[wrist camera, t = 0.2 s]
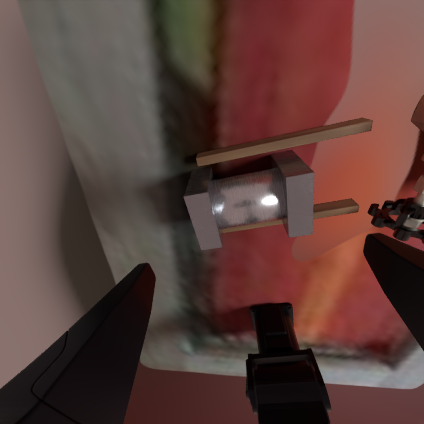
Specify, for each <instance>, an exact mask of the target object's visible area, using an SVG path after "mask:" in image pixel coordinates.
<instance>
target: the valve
mask: <svg viewBox="0 0 424 424" xmlns="http://www.w3.org/2000/svg"><path fill="white" fill-rule="evenodd" d="M411 122H412V123H413V124H414V125H416V126H417V127H418V128H420V129H421V130H422V131H423V132H424V95H423V96H422V98H421V99H420V101H419V102H418V104H417V106H416V108H415V110H414V113H413V115H412V119H411ZM421 160H422V161H424V154H423V155H422V157H421ZM413 189H414V190H415V191H416V192H418V193H417V195H416V197H415V198H407V199H398V200H397V201H395V202H394V201H390V200H387V201H385V202H384V204H383V206H382V210H381V209H378V207H379V204H371V206H370V208H369V210H368V214H369V215H371V216H374V217H373V219H372V221H371V224H372V225H374V226H376V227H379V228H383V227H384V226H385V227H389V228H391V229H392V230H394V233H393V236H394V237H395V238H396V239H398V240H401V241H407V240H408V239H409V238H410V237H415V238H419V239H421V240H422V243H423V244H424V230H419V229H414V228H417V227H419V226H420V225H421V223H423V224H424V175H421V176H420V178H419V179H418V181H417V183H416V185H415V186H414V188H413ZM402 205H403V206H402ZM401 207H402V208H401ZM389 215H399V216H398V218H397V219H396V221H394V220H393V219H391V218H390V216H389Z"/></svg>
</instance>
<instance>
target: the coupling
mask: <svg viewBox="0 0 424 424" xmlns="http://www.w3.org/2000/svg"><path fill="white" fill-rule="evenodd" d="M271 161H272V169H268V170H263V171H258V172H253V173H248V174H243V175H237V176H232V177H227V178H222V179H217V180H214V177H213V172H212V168H211V167H207V168H202V169H197V170H192V173H191V176H190V179H189V182H188V185H187V188H186V191H185V194H184V200H185V203H186V206H187V208H188V211H189V214H190V217H191V220H192V223H193V226H194V229H195V232H196V235H197V238H198V241H199V244H200V247H201V250H206V249H213V248H220V247H222V229H226V228H232V227H238V226H245V225H251V224H257V223H264V222H270V221H277V220H282V222H283V225H284V227H285V230H286V232H287V234H288V237H296V236H303V235H310V234H312V233H313V200H314V172H313V171H312V170H311V169H310V168H309V167H308V166H307V165H306V164H305V163H304V162H303V161H302V160H301V159H300V157H299V156H298V155H297V154H296V153H295V152H294V151H293V150H290V151H285V152H280V153H275V154H271Z"/></svg>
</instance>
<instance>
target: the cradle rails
mask: <svg viewBox="0 0 424 424" xmlns="http://www.w3.org/2000/svg"><path fill="white" fill-rule="evenodd" d="M372 122H373V121H372V120H369V119H365V118H359V119H354V120H350V121H346V122H341V123H336V124H332V125H327V126H322V127H318V128H313V129H308V130H304V131H299V132H295V133H290V134H285V135H281V136H276V137H272V138H267V139H262V140H258V141H253V142H249V143H244V144H239V145H235V146H230V147H226V148H221V149H216V150H212V151H207V152H203V153H198V154H197V157H196V160H197V164H198V166H203V165H208V164H213V163H218V162H222V161H227V160H232V159H237V158H242V157H246V156H251V155H256V154H261V153H266V152H271V151H275V150H280V149H285V148H290V147H295V146H299V145H304V144H309V143H314V142H319V141H323V140H328V139H333V138H338V137H343V136H347V135H352V134H357V133H362V132H366V131H371V128H372ZM358 209H359V205H358V204H357V203H356V202H355V201H354V200H353V199H345V200H339V201H333V202H327V203H321V204H316V205H313V219H317V218H323V217H329V216H336V215H342V214H349V213H355V212H358ZM278 224H283V222H282V220H277V221H270V222H264V223H257V224H251V225H245V226H238V227H232V228H226V229H222V233H226V232H232V231H239V230H245V229H252V228H258V227H265V226H271V225H278Z"/></svg>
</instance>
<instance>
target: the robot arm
mask: <svg viewBox="0 0 424 424" xmlns="http://www.w3.org/2000/svg"><path fill="white" fill-rule="evenodd" d="M363 253H364V256H365V258H366V260H367V262H368V264H369V266H370V267H371V269H372V271H373V273H374V275H375V277H376V279H377V281H378V282H379V284H380V286H381V288H382V290H383V291H384V293H385V295H386V296H387V298H388V299H389V301H390V302H391V304H392V305H393V307H394V308H395V309H396V311H397V312H398V314H399V315H400V317H401V318H402V320H403V321H404V323H405V324H406V326H407V327H408V329H409V330H410V332H411V333H412V335H413V336H414V337H415V339H416V340H417V342H418V343H419V345H420V346H421V348H422V349H423V351H424V251H422V250H419V249H417V248H415V247H412V246H410V245H408V244H405V243H403V242H400V241H398V240H396V239H393V238H391V237H389V236H386V235H384V234H381V233H374V234H368V235H367V236H366V240H365V244H364V249H363ZM155 281H156V277H155V274H154V272H153V270H152V268H151V266H150V264H149V263H141V264H138V265H137V266H136V267H135V268H134V269H133V270H132V271H131V272H130V273H129V274H128V275H127V276H125V277H124V278H123V279H122V280H121V281H120V282H119V283H118V284H117V285H116V286H115V287H114V288H113V289H111V290H110V291H109V292H108V293H107V294H106V295H105V296H104V297H103V298H102V299H101V300H100V301H99V302H97V303H96V304H95V305H94V306H93V307H92V308H91V309H90V310H89V311H88V312H87V313H86V314H85V315H83V316H82V317H81V318H80V319H79V320H78V321H77V322H76V323H75V324H74V325H73V326H72V327H71V328H69V331H66V332H65V333H64V334H63V335H62V336H61V337H60V338H59V339H58V340H57V341H56V342H54V343H53V344H52V345H51V346H50V347H49V348H48V349H47V350H45V352H43V353H42V354H41V355H40V356H39V357H37V358H36V359H35V360H34V361H33V362H32V363H30V364H29V365H28V366H27V367H26V368H25V369H24V370H22V371H21V372H20V373H19V374H17V375H16V376H15V377H14V378H13V379H11V380H10V381H9V382H8V383H7V384H6V385H4V386H3V387H2V388H1V389H0V424H123V423H124V419H125V415H126V410H127V407H128V403H129V399H130V395H131V391H132V387H133V383H134V379H135V375H136V371H137V367H138V363H139V359H140V355H141V351H142V347H143V343H144V339H145V335H146V331H147V327H148V323H149V319H150V314H151V309H152V302H153V295H154V288H155ZM250 313H251V318H252V323H253V327H254V331H256V335H257V342H258V350H259V354H248V359H247V360H246V370H247V379H246V397H247V398H248V399H249V401H250V402H251V406H252V409H253V412H254V414H258V422H259V424H330V420H329V416H328V413H327V411H331V405H330V400H329V397H328V393H327V390H326V387H325V384H324V381H323V378H322V375H321V373H320V370H319V367H318V365H317V362H316V360H315V357H314V354H313V352H312V349H311V348H307V349H304V350H300V349H299V345H298V342H297V338H296V335H295V331H294V328H293V327H294V326H293V307H292V304H290V303H287V304H277V305H267V306H257V307H251V308H250Z"/></svg>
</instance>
